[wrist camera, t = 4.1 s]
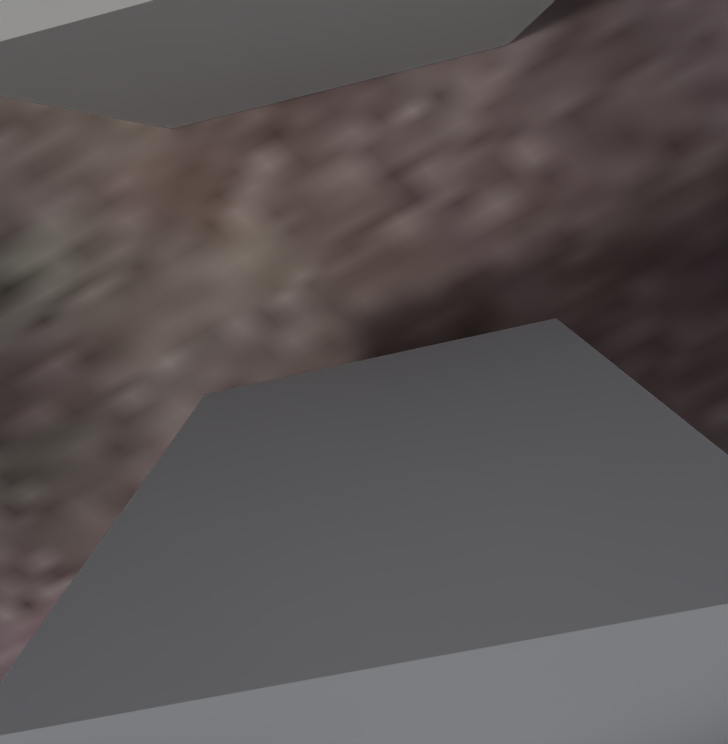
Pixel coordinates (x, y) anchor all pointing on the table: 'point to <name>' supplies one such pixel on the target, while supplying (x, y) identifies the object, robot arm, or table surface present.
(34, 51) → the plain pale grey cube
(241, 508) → the grey arch block
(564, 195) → the table surface
